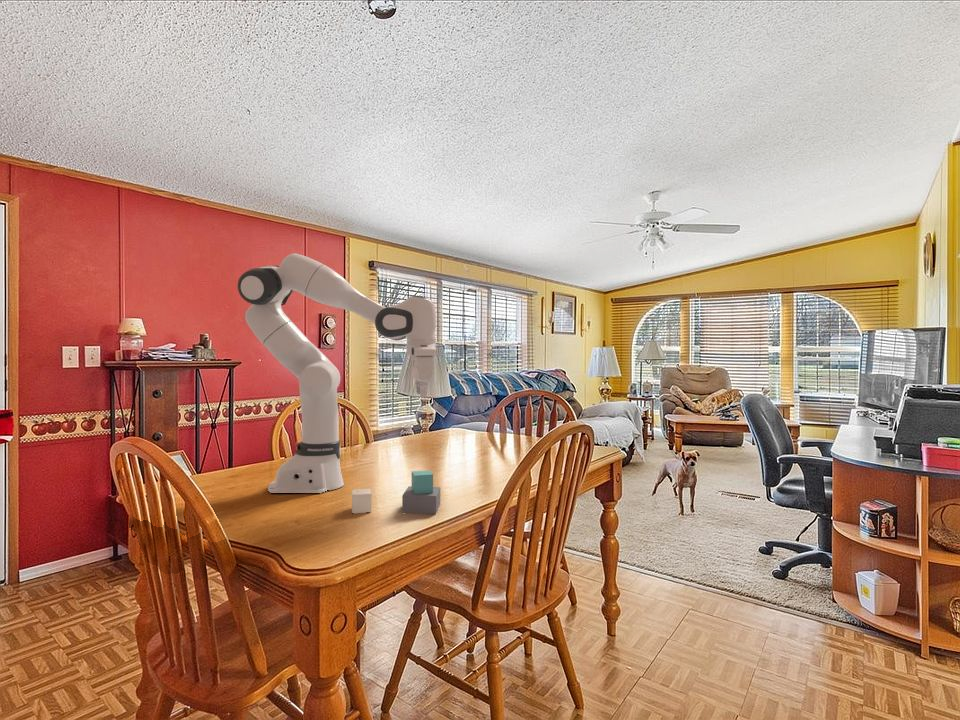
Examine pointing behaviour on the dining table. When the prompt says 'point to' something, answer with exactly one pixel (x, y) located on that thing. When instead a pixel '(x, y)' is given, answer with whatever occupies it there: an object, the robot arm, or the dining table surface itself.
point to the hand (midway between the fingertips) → (421, 395)
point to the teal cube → (422, 482)
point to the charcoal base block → (420, 502)
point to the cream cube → (361, 500)
